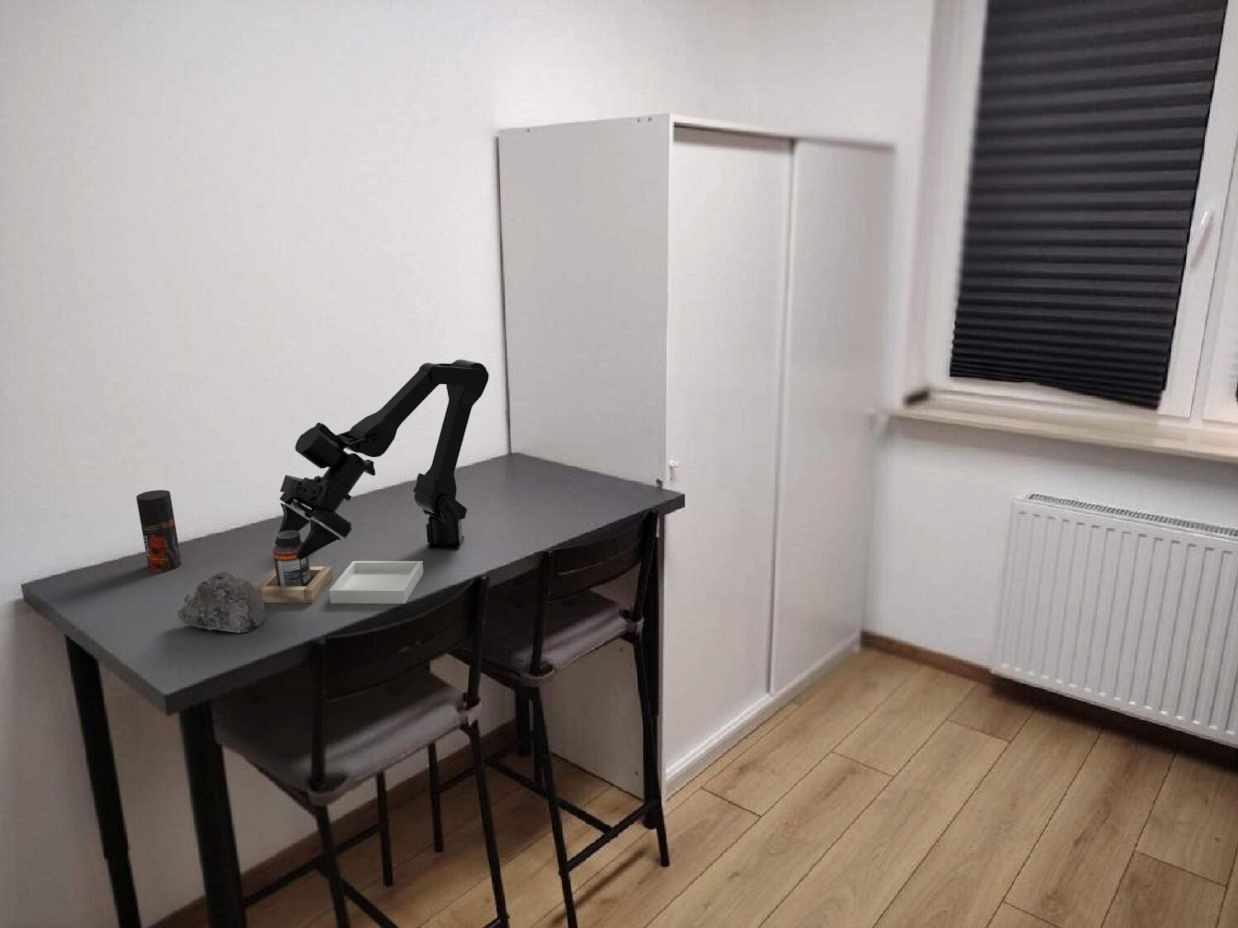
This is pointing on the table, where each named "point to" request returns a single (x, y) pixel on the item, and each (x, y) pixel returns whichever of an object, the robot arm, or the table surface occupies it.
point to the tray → (377, 582)
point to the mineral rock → (223, 605)
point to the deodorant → (159, 530)
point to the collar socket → (295, 587)
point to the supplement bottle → (290, 560)
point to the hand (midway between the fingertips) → (287, 551)
